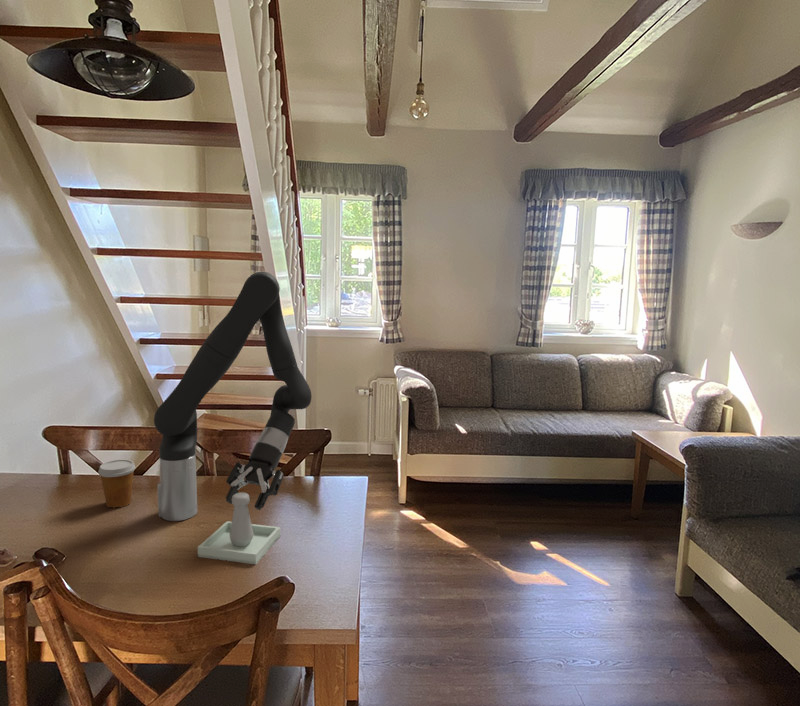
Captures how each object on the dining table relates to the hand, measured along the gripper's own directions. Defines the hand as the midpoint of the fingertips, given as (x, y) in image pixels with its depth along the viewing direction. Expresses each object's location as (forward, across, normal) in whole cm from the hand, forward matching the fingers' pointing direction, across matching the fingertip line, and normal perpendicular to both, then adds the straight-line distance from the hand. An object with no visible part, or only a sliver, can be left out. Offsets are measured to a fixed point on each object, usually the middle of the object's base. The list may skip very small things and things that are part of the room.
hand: (242, 505), depth 133 cm
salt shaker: (+8, 0, +6) cm, 10 cm away
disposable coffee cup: (+4, -48, +11) cm, 49 cm away
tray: (+8, 0, +6) cm, 10 cm away
